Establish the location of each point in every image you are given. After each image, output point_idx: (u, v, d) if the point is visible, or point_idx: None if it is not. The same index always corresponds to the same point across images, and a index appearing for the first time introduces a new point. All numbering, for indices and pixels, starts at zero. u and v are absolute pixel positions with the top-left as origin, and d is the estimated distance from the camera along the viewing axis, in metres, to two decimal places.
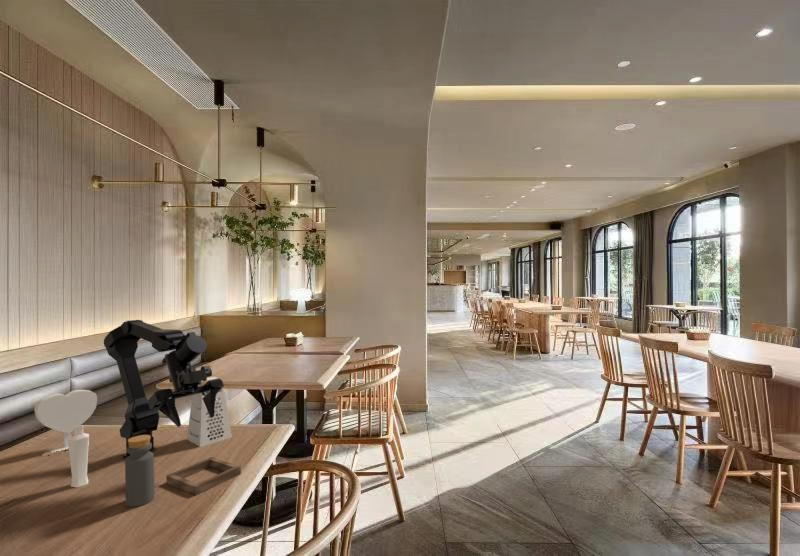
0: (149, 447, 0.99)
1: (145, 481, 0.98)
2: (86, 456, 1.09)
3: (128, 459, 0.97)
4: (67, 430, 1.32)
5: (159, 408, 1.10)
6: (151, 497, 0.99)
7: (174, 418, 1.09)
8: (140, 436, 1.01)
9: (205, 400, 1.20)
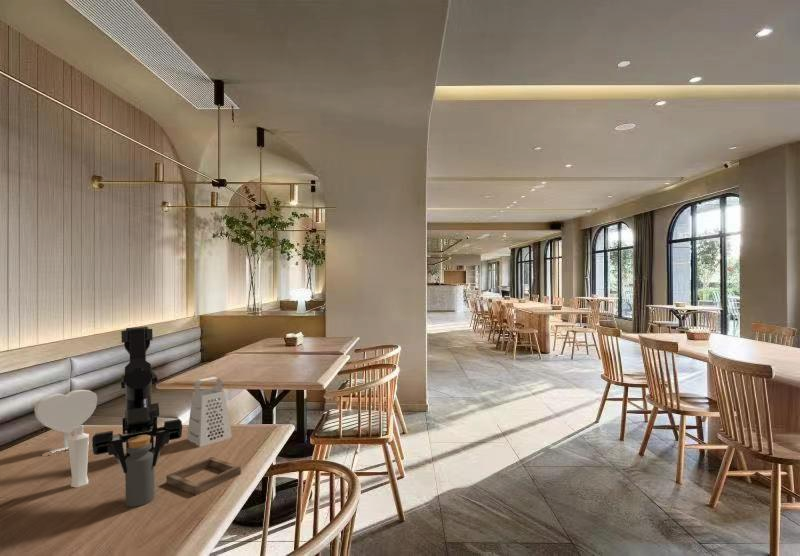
0: (149, 447, 0.99)
1: (145, 481, 0.98)
2: (86, 456, 1.09)
3: (128, 459, 0.97)
4: (67, 430, 1.32)
5: (110, 452, 1.00)
6: (151, 497, 0.99)
7: (120, 463, 0.98)
8: (140, 436, 1.01)
9: None
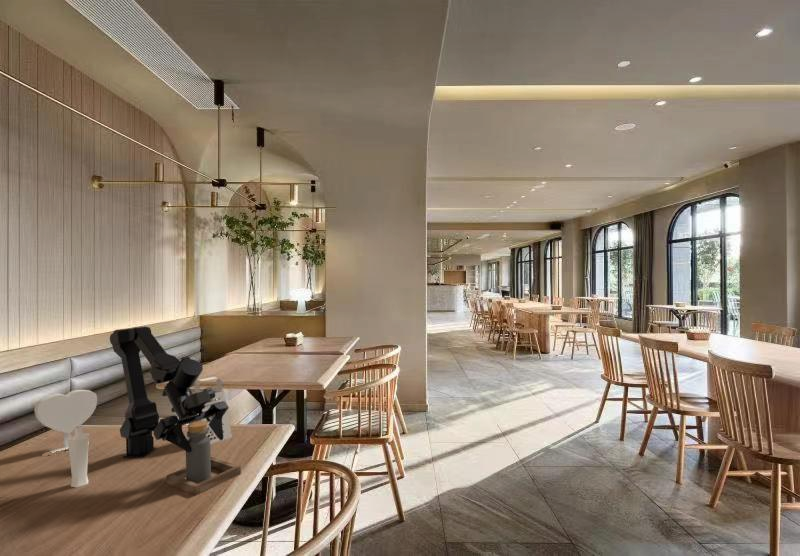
0: (208, 430, 1.10)
1: (208, 461, 1.09)
2: (86, 456, 1.09)
3: (192, 443, 1.07)
4: (67, 430, 1.32)
5: (166, 437, 1.06)
6: (210, 475, 1.10)
7: (183, 444, 1.06)
8: (196, 422, 1.10)
9: (211, 425, 1.17)
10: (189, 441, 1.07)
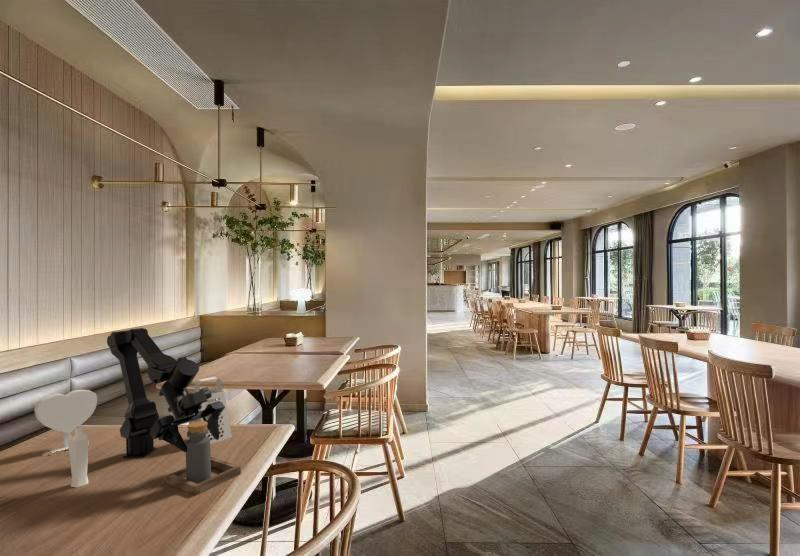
0: (208, 430, 1.10)
1: (208, 461, 1.09)
2: (86, 456, 1.09)
3: (192, 443, 1.07)
4: (67, 430, 1.32)
5: (162, 437, 1.07)
6: (210, 475, 1.10)
7: (179, 443, 1.07)
8: (195, 422, 1.10)
9: (208, 424, 1.17)
10: (189, 441, 1.07)
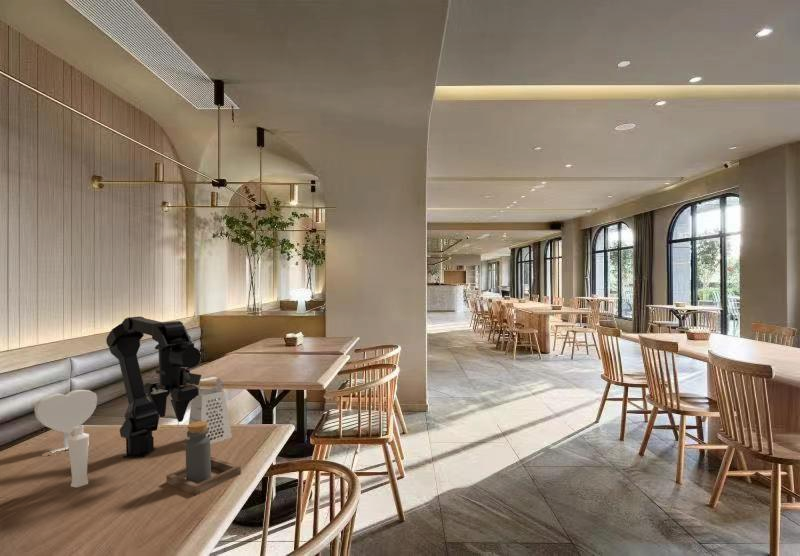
0: (208, 430, 1.10)
1: (208, 461, 1.09)
2: (86, 456, 1.09)
3: (192, 443, 1.07)
4: (67, 430, 1.32)
5: None
6: (210, 475, 1.10)
7: (183, 413, 1.17)
8: (196, 422, 1.10)
9: (156, 398, 1.21)
10: (189, 441, 1.07)
